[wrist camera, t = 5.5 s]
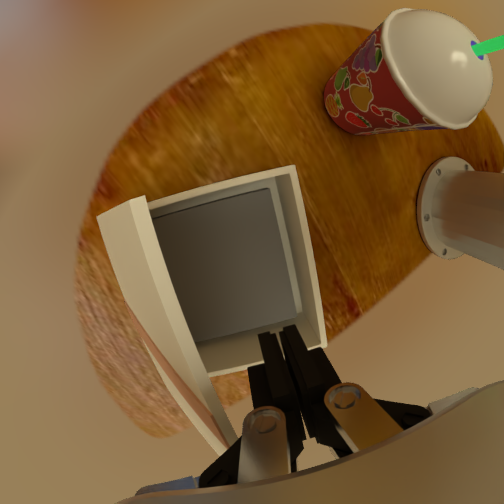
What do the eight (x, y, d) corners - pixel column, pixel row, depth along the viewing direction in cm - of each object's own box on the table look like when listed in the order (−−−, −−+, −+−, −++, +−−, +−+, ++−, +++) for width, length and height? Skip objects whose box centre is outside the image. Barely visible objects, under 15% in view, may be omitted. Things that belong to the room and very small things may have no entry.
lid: (144, 195, 6) (124, 201, 6) (274, 502, 10) (267, 507, 10) (101, 215, 18) (95, 217, 18) (171, 387, 22) (166, 389, 22)
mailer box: (276, 168, 25) (294, 164, 18) (306, 312, 29) (327, 346, 23) (132, 207, 25) (103, 217, 18) (179, 343, 29) (170, 383, 22)
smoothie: (388, 147, 25) (559, 140, 6) (314, 142, 25) (486, 93, 5) (380, 75, 23) (523, 11, 4) (307, 64, 23) (424, -61, 3)
